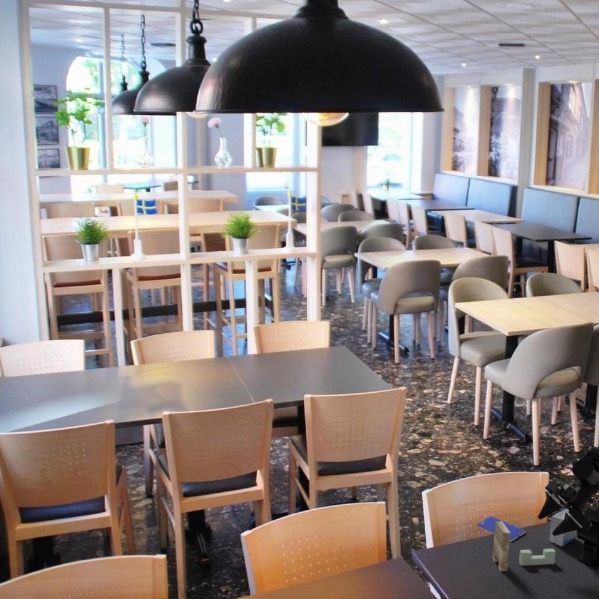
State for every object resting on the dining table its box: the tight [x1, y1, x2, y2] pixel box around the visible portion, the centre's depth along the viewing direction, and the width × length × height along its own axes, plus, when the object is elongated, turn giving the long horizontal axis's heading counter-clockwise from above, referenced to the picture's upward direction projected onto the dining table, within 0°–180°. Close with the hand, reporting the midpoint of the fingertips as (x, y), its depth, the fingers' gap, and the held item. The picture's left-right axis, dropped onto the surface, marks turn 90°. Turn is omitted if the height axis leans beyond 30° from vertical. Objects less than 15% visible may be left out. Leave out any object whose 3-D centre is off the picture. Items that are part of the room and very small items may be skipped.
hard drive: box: [476, 515, 526, 543], centre depth 248 cm, size 2×8×12 cm
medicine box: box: [549, 508, 577, 547], centre depth 242 cm, size 8×4×9 cm, turn 132°
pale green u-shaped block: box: [518, 548, 556, 566], centre depth 229 cm, size 10×2×4 cm, turn 96°
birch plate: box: [492, 520, 511, 572], centre depth 227 cm, size 2×6×12 cm, turn 6°
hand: (545, 526), depth 223 cm, fingers open, 9 cm apart
